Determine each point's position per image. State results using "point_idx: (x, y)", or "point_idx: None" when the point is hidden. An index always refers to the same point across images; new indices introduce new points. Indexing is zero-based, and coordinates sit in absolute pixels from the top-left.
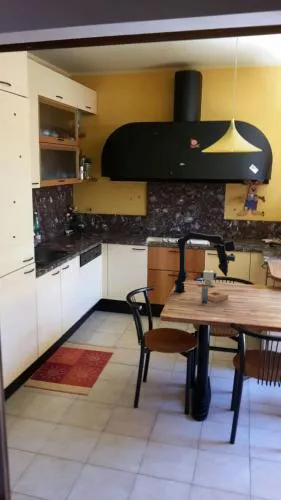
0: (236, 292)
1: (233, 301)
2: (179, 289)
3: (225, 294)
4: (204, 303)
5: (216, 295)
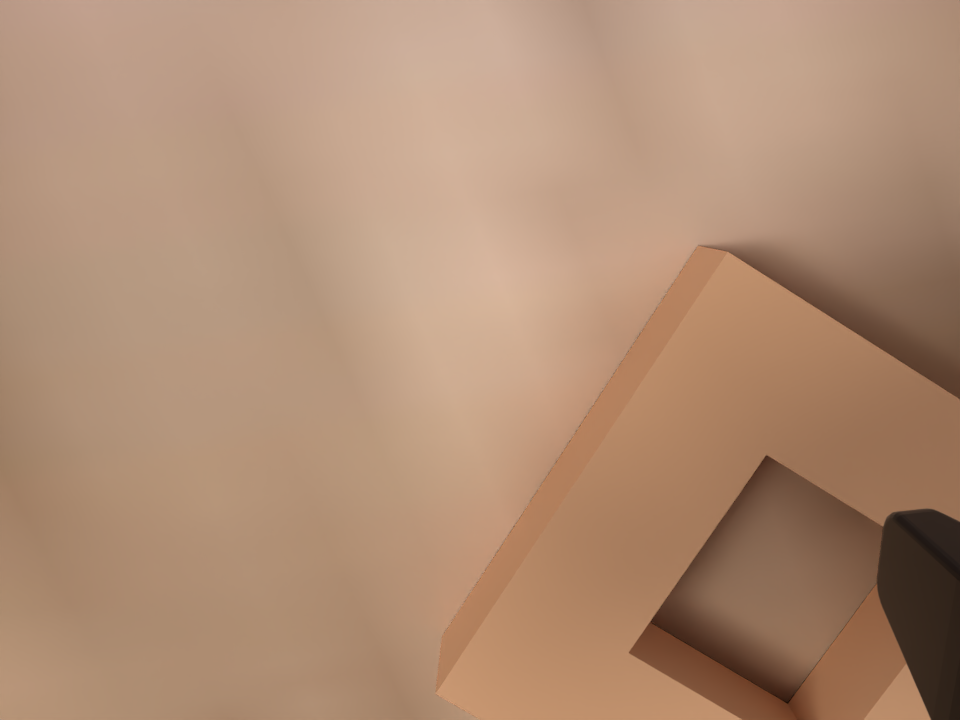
0: (41, 123)
1: (901, 72)
2: None
3: (766, 329)
4: None
5: None
